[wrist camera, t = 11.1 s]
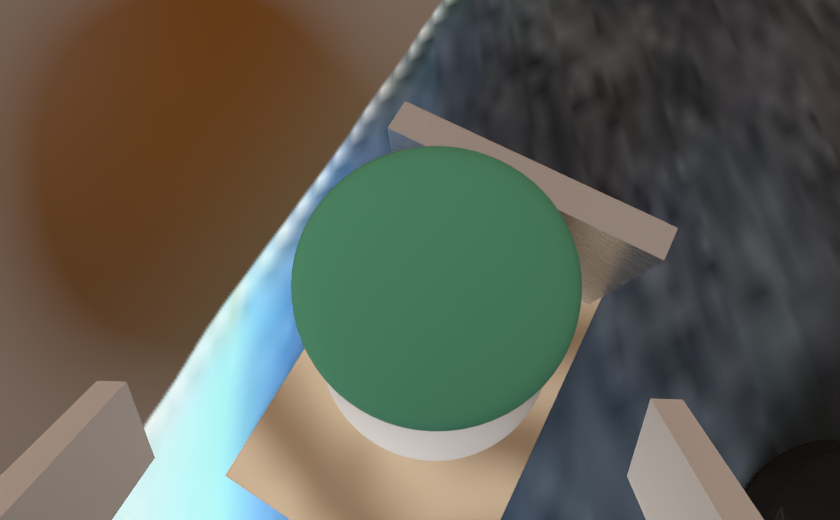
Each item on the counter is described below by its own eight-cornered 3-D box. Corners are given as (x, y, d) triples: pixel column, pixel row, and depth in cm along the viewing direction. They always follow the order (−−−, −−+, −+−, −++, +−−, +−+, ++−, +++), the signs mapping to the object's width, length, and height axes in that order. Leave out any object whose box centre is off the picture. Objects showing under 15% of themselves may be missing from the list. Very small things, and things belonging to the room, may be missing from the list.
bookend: (413, 188, 29) (405, 101, 20) (599, 281, 27) (678, 228, 18) (401, 208, 29) (387, 127, 20) (588, 304, 26) (664, 260, 18)
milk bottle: (478, 453, 24) (649, 676, 5) (347, 406, 25) (77, 443, 6) (515, 320, 26) (735, 123, 7) (393, 280, 27) (299, 12, 8)
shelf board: (408, 197, 31) (406, 185, 29) (595, 292, 29) (607, 285, 27) (240, 469, 26) (225, 475, 24) (449, 610, 24) (450, 628, 22)
